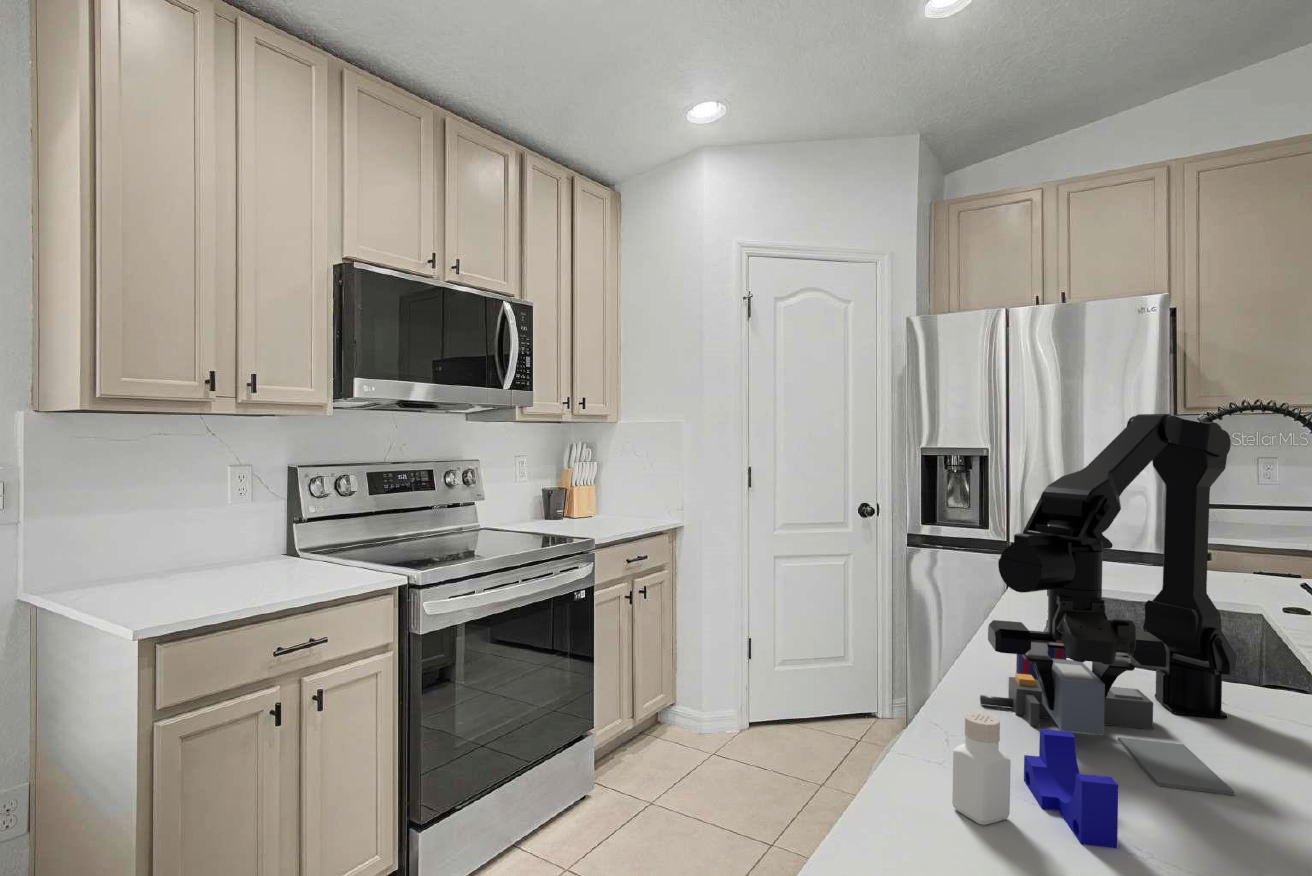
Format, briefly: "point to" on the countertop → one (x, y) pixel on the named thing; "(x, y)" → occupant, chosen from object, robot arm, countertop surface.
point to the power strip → (1027, 701)
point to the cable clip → (1073, 790)
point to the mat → (1174, 766)
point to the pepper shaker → (981, 772)
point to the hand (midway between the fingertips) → (1072, 711)
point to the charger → (1077, 698)
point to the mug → (1027, 667)
